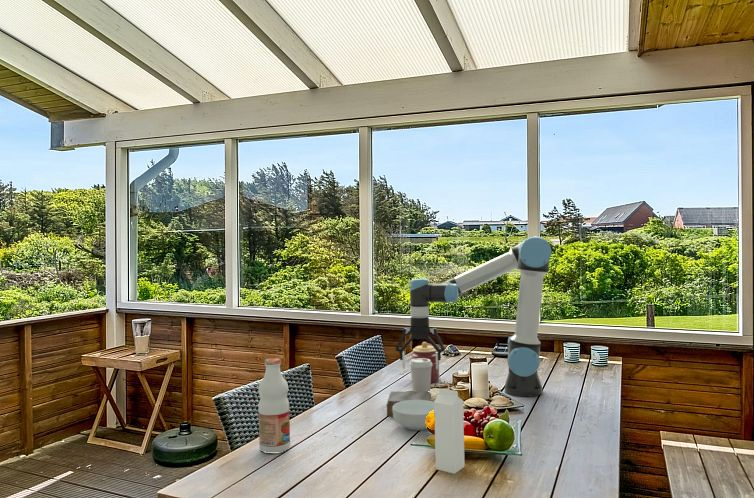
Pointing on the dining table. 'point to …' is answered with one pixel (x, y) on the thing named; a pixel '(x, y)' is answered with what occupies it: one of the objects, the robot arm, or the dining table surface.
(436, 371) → the canister
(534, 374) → the robot arm
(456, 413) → the milk
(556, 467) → the dining table surface
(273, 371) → the fruit juice
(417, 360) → the coffee cup
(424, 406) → the cereal bowl
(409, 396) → the grey flat block
